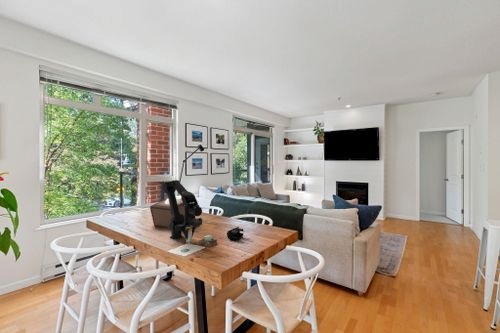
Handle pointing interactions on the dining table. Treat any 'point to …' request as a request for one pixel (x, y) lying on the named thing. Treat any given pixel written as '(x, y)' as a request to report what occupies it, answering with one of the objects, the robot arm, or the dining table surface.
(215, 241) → the button housing
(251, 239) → the dining table surface
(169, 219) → the tissue box
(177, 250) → the paper
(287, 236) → the dining table surface
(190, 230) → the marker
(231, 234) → the end cap
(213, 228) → the dining table surface
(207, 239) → the button
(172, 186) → the robot arm
